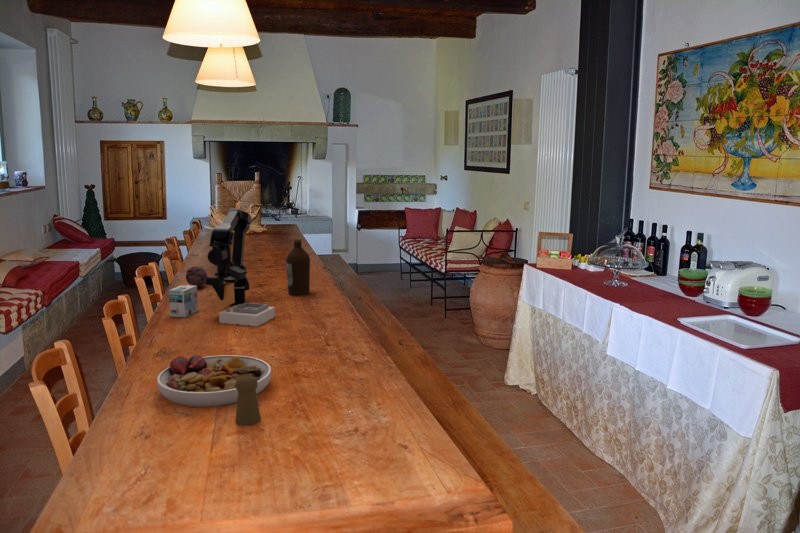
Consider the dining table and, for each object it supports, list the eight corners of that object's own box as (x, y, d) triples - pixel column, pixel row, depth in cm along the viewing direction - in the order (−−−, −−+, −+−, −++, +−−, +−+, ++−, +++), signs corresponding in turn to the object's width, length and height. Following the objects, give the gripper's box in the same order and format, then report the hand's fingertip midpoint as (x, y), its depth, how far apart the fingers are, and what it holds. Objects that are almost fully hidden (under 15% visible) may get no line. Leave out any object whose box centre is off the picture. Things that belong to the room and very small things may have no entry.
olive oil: (307, 290, 298) (306, 236, 294) (313, 295, 289) (312, 239, 284) (284, 292, 294) (283, 238, 290) (290, 297, 284) (288, 241, 280)
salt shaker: (248, 413, 160) (247, 371, 158) (266, 419, 157) (264, 376, 155) (230, 421, 156) (227, 378, 154) (247, 427, 152) (245, 383, 150)
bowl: (291, 378, 186) (290, 352, 184) (232, 418, 158) (230, 388, 157) (203, 366, 196) (202, 341, 194) (133, 402, 168) (130, 373, 166)
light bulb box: (185, 317, 250) (183, 290, 248) (169, 317, 251) (167, 290, 249) (199, 311, 260) (197, 285, 258) (183, 310, 261) (182, 284, 259)
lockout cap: (223, 301, 258) (222, 282, 257) (234, 302, 257) (233, 283, 255) (216, 304, 254) (215, 284, 252) (228, 305, 252) (227, 285, 251)
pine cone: (209, 290, 298) (208, 268, 296) (187, 291, 295) (186, 270, 293) (206, 282, 314) (205, 262, 312) (185, 284, 311) (184, 263, 309)
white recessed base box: (238, 313, 256) (238, 300, 255) (275, 317, 251) (274, 303, 250) (219, 323, 242) (218, 308, 241) (257, 326, 238) (256, 312, 237)
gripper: (229, 264, 241) (231, 305, 244) (254, 256, 259) (255, 294, 261) (203, 263, 244) (205, 303, 247) (229, 255, 262) (231, 293, 265)
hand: (225, 298), depth 255 cm, fingers closed on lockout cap, 5 cm apart
